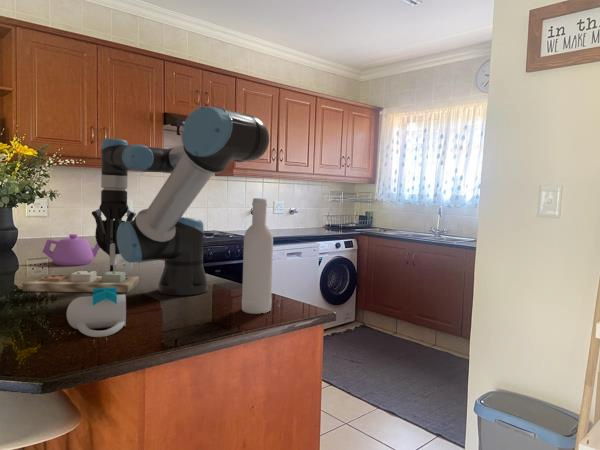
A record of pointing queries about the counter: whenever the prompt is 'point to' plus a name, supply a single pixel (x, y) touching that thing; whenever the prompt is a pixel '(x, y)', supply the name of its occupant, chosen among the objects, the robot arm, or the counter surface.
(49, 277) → the terracotta button
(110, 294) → the mug
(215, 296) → the counter surface
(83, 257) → the teapot
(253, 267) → the bottle
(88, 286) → the button board
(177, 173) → the robot arm
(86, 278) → the cream button
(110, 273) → the sage button
